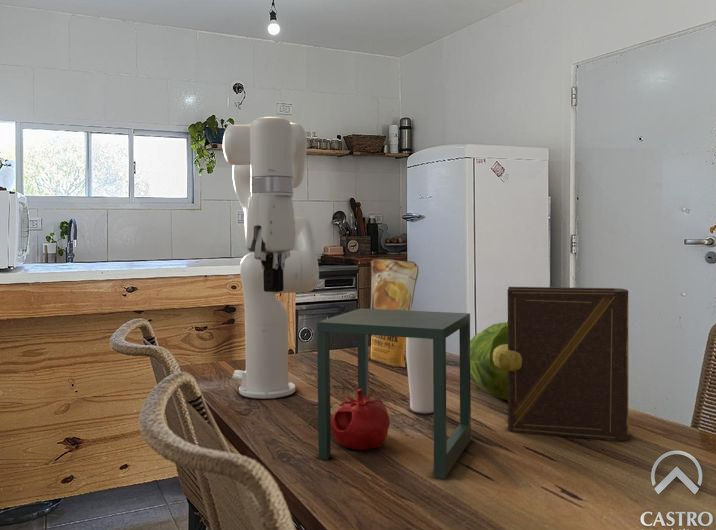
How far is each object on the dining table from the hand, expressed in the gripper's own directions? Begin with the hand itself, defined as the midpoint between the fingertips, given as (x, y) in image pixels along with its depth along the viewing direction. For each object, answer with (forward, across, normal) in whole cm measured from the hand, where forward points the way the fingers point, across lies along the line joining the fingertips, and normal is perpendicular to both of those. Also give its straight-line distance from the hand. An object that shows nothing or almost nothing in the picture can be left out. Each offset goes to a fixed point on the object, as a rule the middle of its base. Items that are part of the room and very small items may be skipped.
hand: (273, 291), depth 107 cm
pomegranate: (+25, 0, +16) cm, 30 cm away
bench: (+25, 0, +23) cm, 34 cm away
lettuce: (+25, -40, +33) cm, 58 cm away
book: (+25, -20, +46) cm, 56 cm away
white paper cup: (+25, -22, +21) cm, 40 cm away
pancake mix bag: (+25, -62, 0) cm, 67 cm away
